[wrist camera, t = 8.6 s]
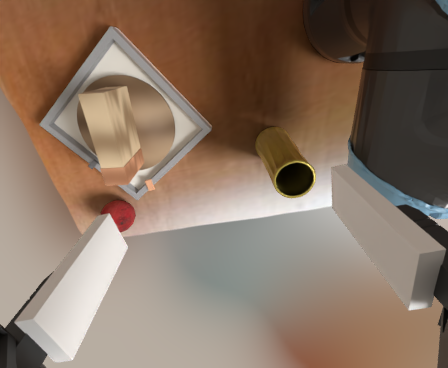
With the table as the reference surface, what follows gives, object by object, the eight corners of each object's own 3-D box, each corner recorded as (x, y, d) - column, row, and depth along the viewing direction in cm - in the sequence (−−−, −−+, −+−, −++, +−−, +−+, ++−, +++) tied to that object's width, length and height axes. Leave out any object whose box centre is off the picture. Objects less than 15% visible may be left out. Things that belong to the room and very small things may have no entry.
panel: (118, 28, 34) (109, 25, 31) (214, 128, 41) (214, 133, 38) (48, 122, 40) (36, 126, 37) (143, 196, 47) (138, 204, 44)
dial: (66, 77, 36) (20, 83, 27) (167, 71, 35) (151, 75, 27) (96, 170, 42) (67, 196, 34) (181, 165, 42) (171, 191, 34)
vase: (280, 164, 44) (304, 206, 31) (249, 153, 43) (261, 193, 30) (296, 133, 41) (329, 166, 29) (263, 121, 40) (283, 149, 28)
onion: (136, 191, 46) (121, 215, 39) (143, 216, 49) (130, 243, 42) (106, 193, 46) (85, 218, 39) (114, 218, 49) (97, 245, 42)
